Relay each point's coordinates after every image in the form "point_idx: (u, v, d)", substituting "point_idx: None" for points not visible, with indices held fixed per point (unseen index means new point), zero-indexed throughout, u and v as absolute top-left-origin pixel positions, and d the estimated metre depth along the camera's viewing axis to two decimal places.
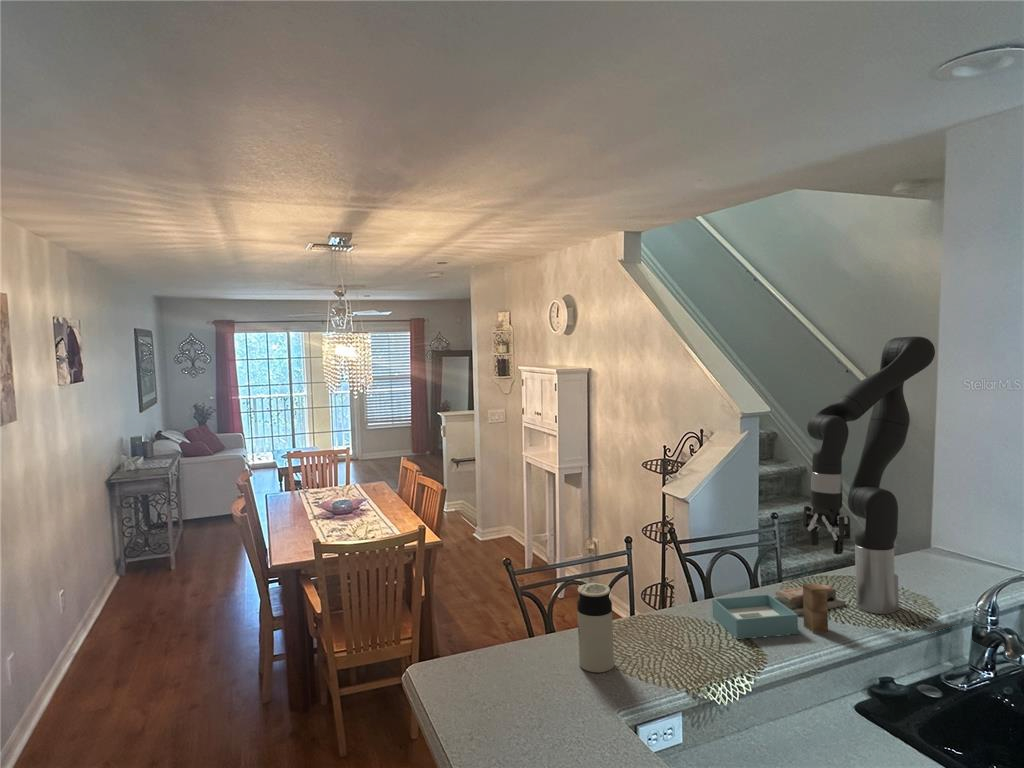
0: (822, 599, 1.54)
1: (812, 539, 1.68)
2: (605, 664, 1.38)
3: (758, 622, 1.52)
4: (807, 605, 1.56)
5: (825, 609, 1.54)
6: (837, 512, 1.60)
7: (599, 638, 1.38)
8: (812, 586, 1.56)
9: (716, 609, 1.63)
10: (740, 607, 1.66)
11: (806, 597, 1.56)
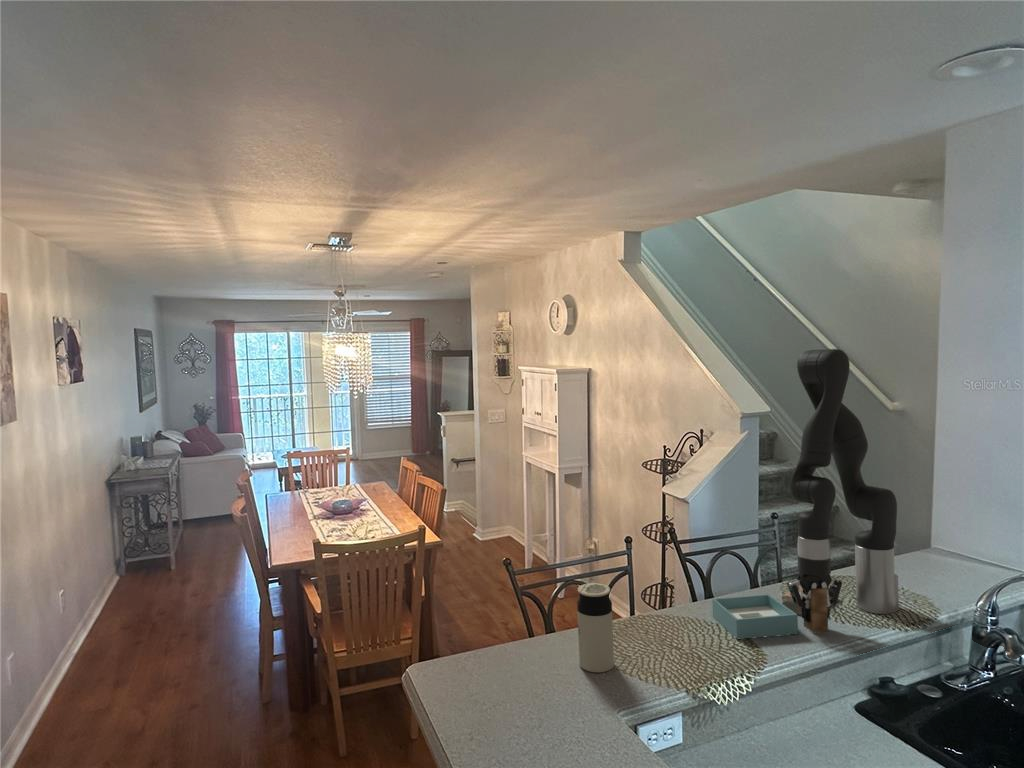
0: (822, 599, 1.54)
1: None
2: (605, 664, 1.38)
3: (758, 622, 1.52)
4: None
5: (825, 609, 1.54)
6: None
7: (599, 638, 1.38)
8: None
9: (716, 609, 1.63)
10: (740, 607, 1.66)
11: None
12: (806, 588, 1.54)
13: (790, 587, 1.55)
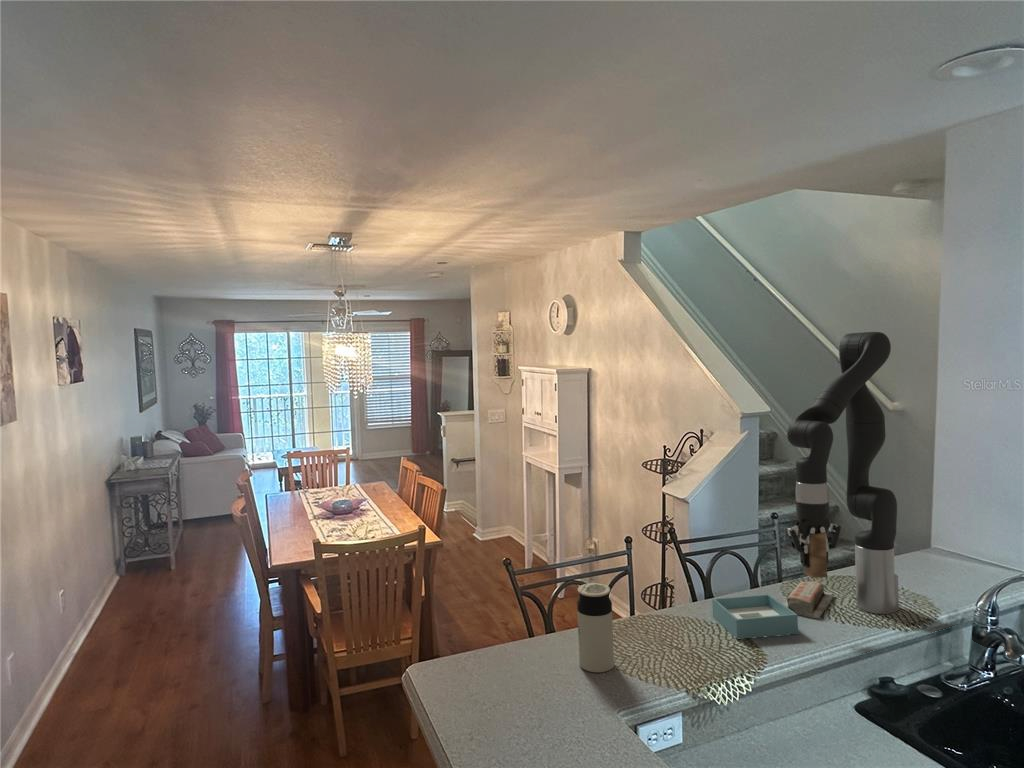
0: (820, 543, 1.53)
1: None
2: (605, 664, 1.38)
3: (758, 622, 1.52)
4: None
5: (824, 554, 1.54)
6: None
7: (599, 638, 1.38)
8: None
9: (716, 609, 1.63)
10: (740, 607, 1.66)
11: None
12: (805, 533, 1.54)
13: (789, 532, 1.54)
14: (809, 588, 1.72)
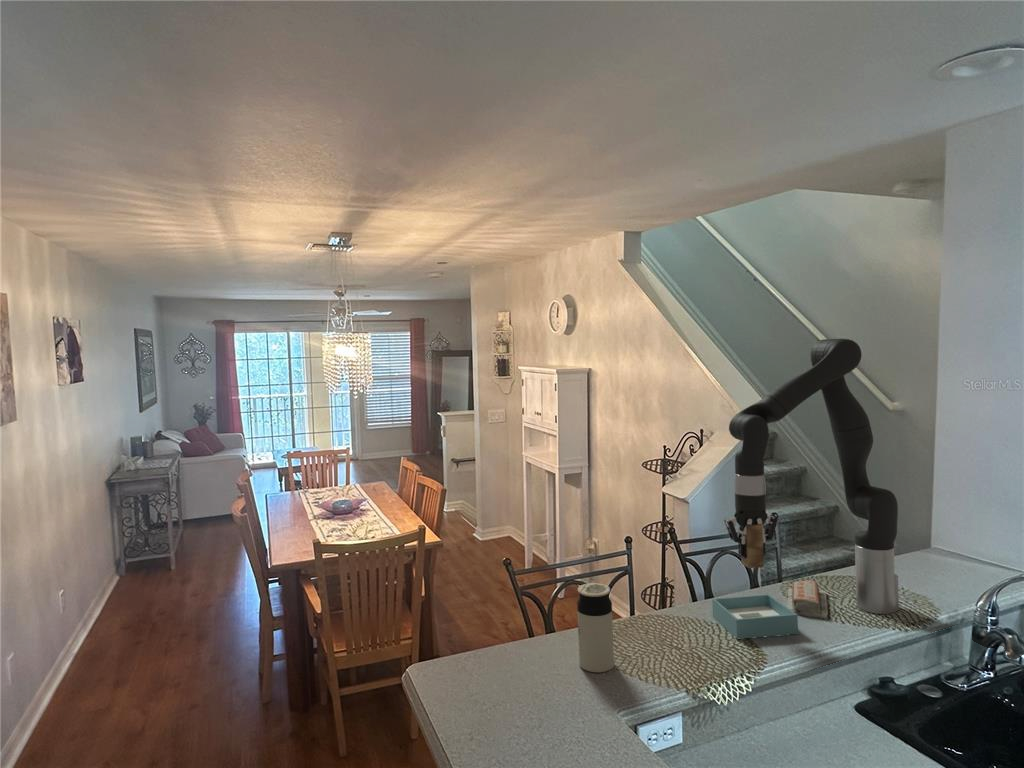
0: (757, 534, 1.57)
1: None
2: (605, 664, 1.38)
3: (758, 622, 1.52)
4: None
5: (761, 545, 1.57)
6: None
7: (599, 638, 1.38)
8: None
9: (716, 609, 1.63)
10: (740, 607, 1.66)
11: None
12: (742, 524, 1.57)
13: (727, 523, 1.58)
14: (808, 588, 1.72)
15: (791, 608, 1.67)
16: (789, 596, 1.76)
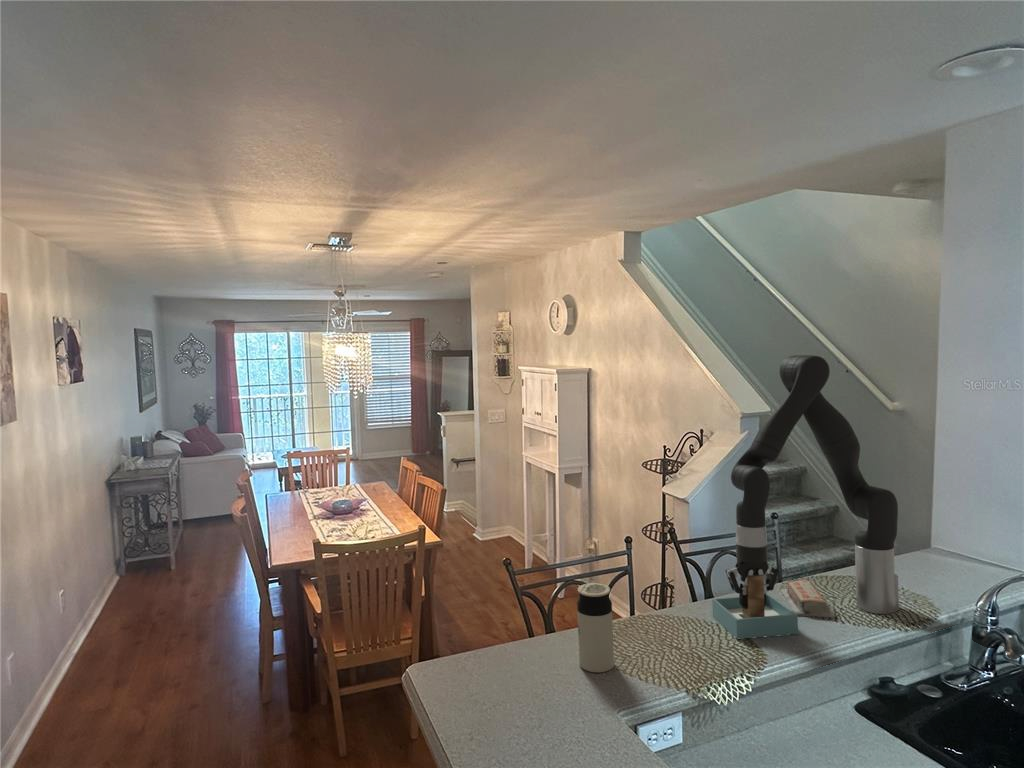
0: (758, 585, 1.57)
1: None
2: (605, 664, 1.38)
3: (758, 622, 1.52)
4: None
5: (762, 596, 1.57)
6: None
7: (599, 638, 1.38)
8: None
9: (716, 609, 1.63)
10: (740, 607, 1.66)
11: None
12: (743, 575, 1.58)
13: (728, 574, 1.58)
14: (808, 588, 1.72)
15: (798, 610, 1.66)
16: (787, 597, 1.75)
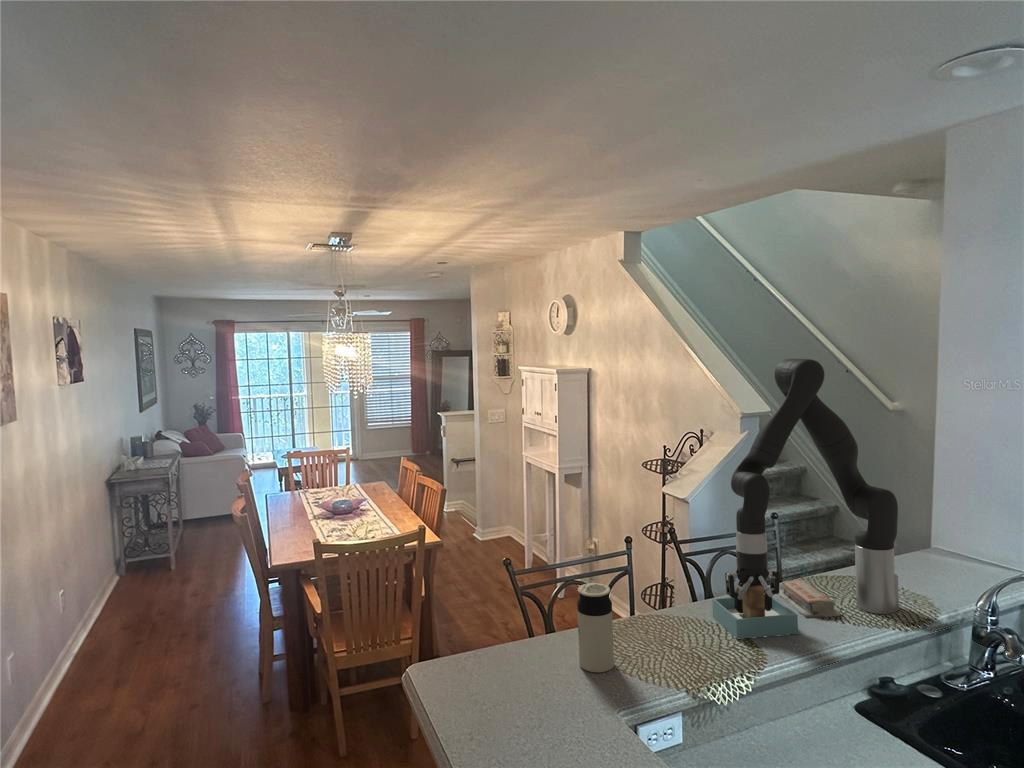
0: (759, 596, 1.57)
1: None
2: (605, 664, 1.38)
3: (758, 622, 1.52)
4: (745, 602, 1.59)
5: (762, 606, 1.57)
6: None
7: (599, 638, 1.38)
8: None
9: (716, 609, 1.63)
10: None
11: (745, 594, 1.60)
12: (743, 580, 1.58)
13: (727, 577, 1.58)
14: (807, 588, 1.73)
15: (804, 611, 1.65)
16: (787, 598, 1.74)
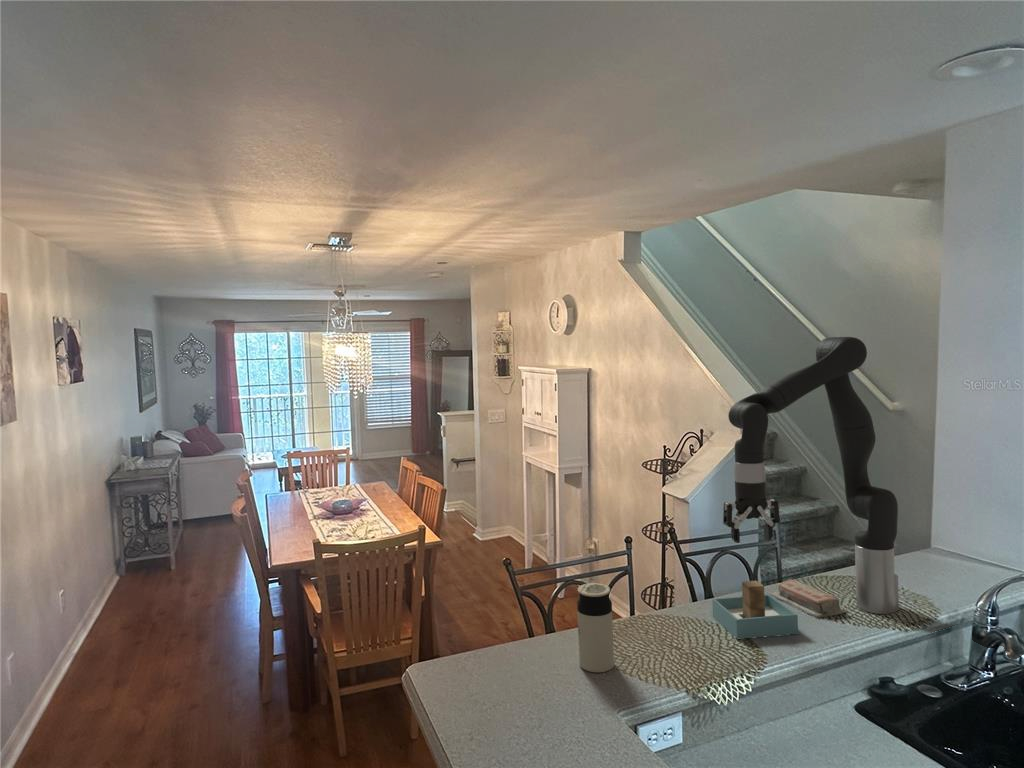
0: (759, 596, 1.57)
1: None
2: (605, 664, 1.38)
3: (758, 622, 1.52)
4: (745, 602, 1.59)
5: (762, 606, 1.57)
6: None
7: (599, 638, 1.38)
8: (751, 583, 1.59)
9: (716, 609, 1.63)
10: (740, 607, 1.66)
11: (744, 594, 1.60)
12: (741, 509, 1.58)
13: (725, 506, 1.58)
14: (806, 587, 1.73)
15: (813, 612, 1.64)
16: (787, 600, 1.73)
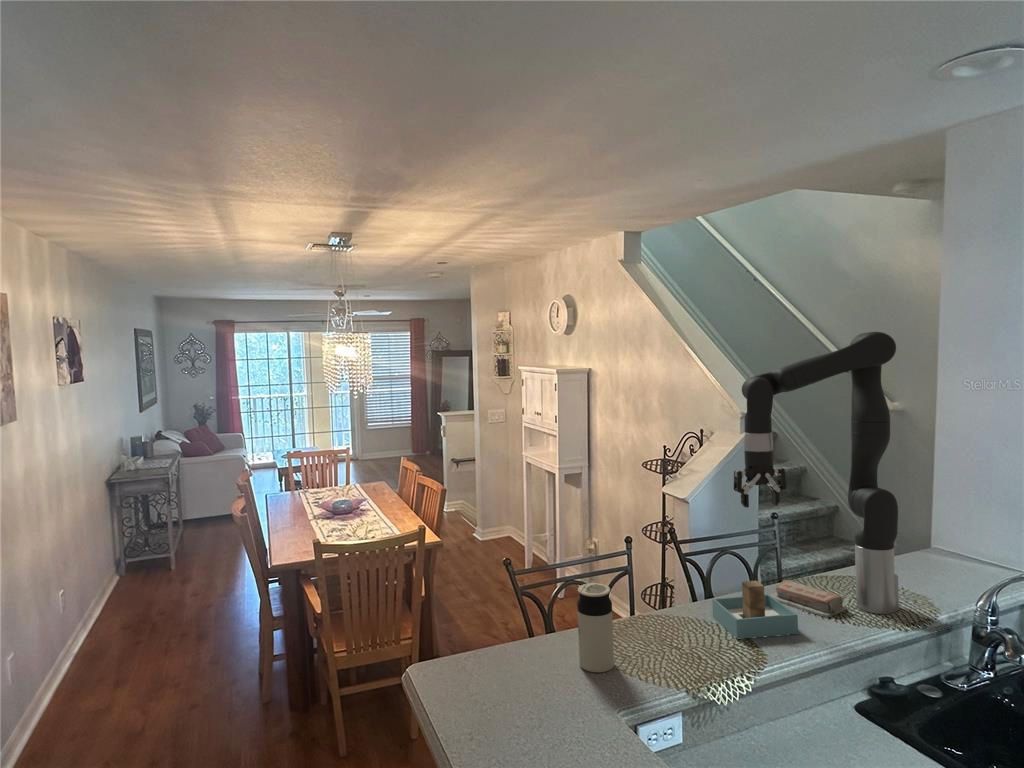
0: (759, 596, 1.57)
1: None
2: (605, 664, 1.38)
3: (758, 622, 1.52)
4: (745, 602, 1.59)
5: (762, 606, 1.57)
6: None
7: (599, 638, 1.38)
8: (751, 583, 1.59)
9: (716, 609, 1.63)
10: (740, 607, 1.66)
11: (745, 594, 1.60)
12: (750, 476, 1.70)
13: (736, 473, 1.70)
14: (805, 587, 1.73)
15: (821, 612, 1.64)
16: (789, 602, 1.71)
